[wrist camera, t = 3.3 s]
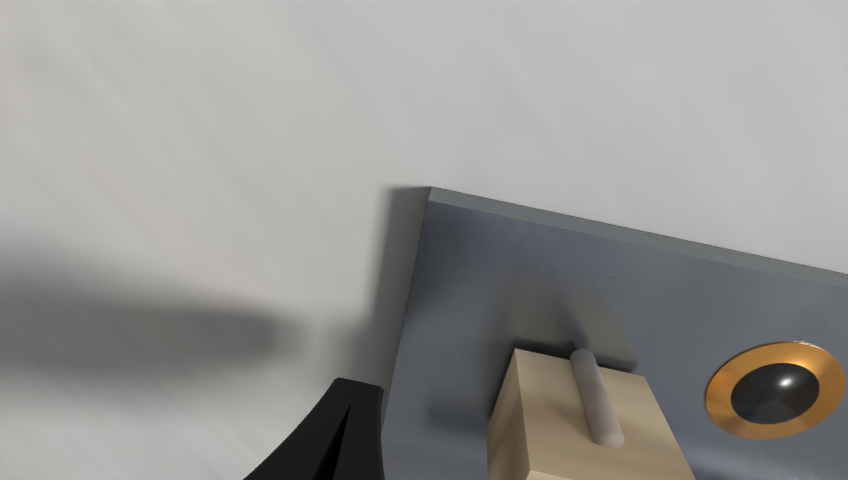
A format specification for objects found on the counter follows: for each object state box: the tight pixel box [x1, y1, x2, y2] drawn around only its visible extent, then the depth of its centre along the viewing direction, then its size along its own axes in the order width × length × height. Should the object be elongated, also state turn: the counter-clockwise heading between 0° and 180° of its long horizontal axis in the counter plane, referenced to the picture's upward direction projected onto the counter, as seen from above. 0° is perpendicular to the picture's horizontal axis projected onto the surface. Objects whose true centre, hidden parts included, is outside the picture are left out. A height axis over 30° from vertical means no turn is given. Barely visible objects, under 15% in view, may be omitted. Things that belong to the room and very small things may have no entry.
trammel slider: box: [486, 348, 696, 480], centre depth 12 cm, size 4×4×4 cm
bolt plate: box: [381, 187, 848, 480], centre depth 15 cm, size 12×27×1 cm, turn 80°
